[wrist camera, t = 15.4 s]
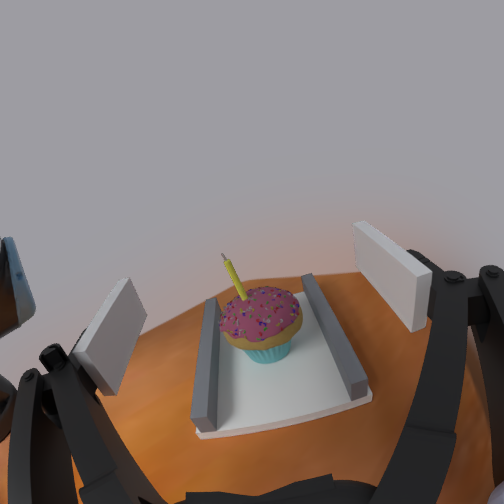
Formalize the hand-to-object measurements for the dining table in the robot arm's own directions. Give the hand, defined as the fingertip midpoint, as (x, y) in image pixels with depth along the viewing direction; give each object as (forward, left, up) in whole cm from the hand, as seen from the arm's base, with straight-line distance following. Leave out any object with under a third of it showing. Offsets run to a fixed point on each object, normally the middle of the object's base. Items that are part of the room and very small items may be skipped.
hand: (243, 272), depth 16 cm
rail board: (-6, +8, -16) cm, 19 cm away
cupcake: (-6, +8, -15) cm, 18 cm away
